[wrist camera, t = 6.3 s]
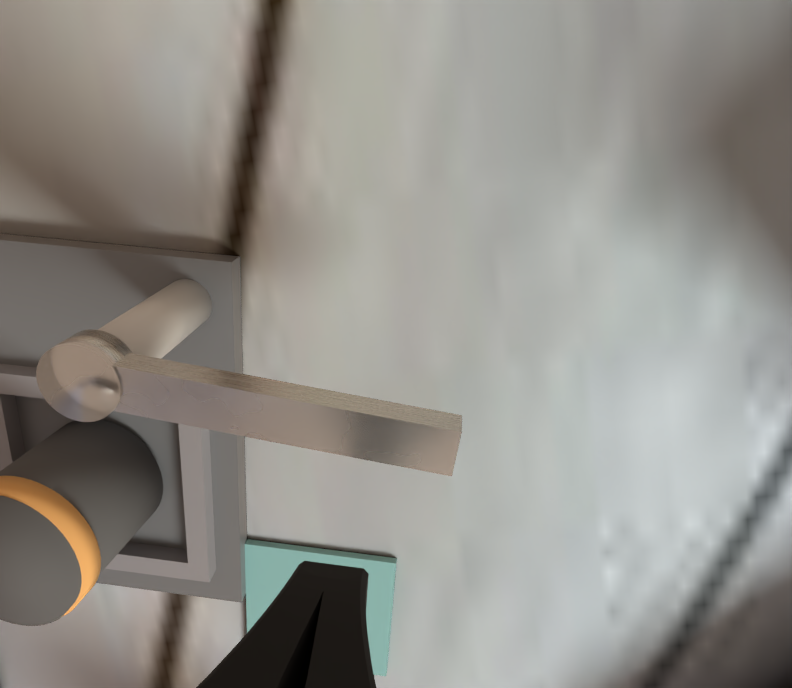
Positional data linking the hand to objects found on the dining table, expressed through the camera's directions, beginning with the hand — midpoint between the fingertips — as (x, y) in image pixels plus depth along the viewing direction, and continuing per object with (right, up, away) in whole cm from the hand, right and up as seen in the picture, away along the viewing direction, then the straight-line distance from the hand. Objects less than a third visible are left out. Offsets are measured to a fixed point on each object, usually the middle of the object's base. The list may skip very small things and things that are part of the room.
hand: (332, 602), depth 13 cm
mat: (-2, -6, +13) cm, 14 cm away
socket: (-9, +2, +11) cm, 14 cm away
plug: (-9, 0, +10) cm, 14 cm away
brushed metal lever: (-2, +4, +3) cm, 5 cm away
